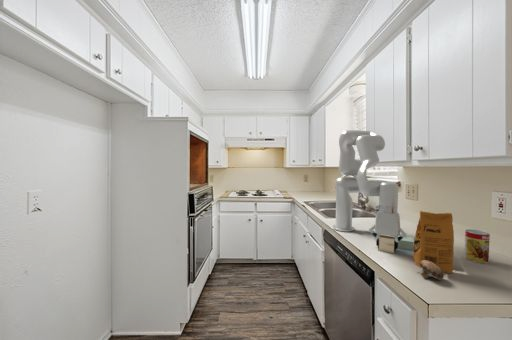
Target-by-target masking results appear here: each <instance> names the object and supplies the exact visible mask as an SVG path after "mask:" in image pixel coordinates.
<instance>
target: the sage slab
mask: <svg viewBox="0 0 512 340" xmlns="http://www.w3.org/2000/svg"><path fill="white" fill-rule="evenodd" d="M399 236H400V235H399ZM399 236H398V237H399ZM414 240H415V237H413V236H412V237H411V236H406V237H404V238H403V239H401V240H400V241H399V242H398V248H399V249H405V250H411V251H413V247H414Z"/></svg>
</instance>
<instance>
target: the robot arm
mask: <svg viewBox="0 0 512 340" xmlns="http://www.w3.org/2000/svg"><path fill="white" fill-rule="evenodd" d="M338 138H339V139H338V145H339V161H338V172H339V173H340V175H344V176H342V177H341V176H340V177H338V178H336V179H335V181H334V188H335V224H333V225H332V229H333V230H335V231H338V232H354V231H355V227H354V226H353V205H354V203H353V198H352V196H351V194H359V193H361V194H362V195H363V196H364V197H378V200H379V201H378V205H375V210H376V209H378V210H379V211H377V214H376V215H375V221H374V222H375V224H373V226H371V227H370V228H369V229H368V231H369V233H370V234H371V235H372V236H373V237H374V238H375V241H376V242H375V243H376V244H375V245H376V246H377V249H378V248H379V237H380V235H381V234H382V235H389V236H394V239H395V241H394V251H396V249H398V242H399V241H400V240H401V239H403V238H404V237H408V235H407V233H406V231H404V229H402V227H401V218H400V213H399V212H398V205H399V185H398V183H396V182H390V181H386V180H369V179H368V176H367V172H368V171H367V170H369V169H370V168H373V167H375V166H377V165H378V164H379V162H380V158H379V154H378V152H381V151H383V150H384V149H385V147H386V142H385V138H384V137H383V136H382V135H381V134H378V133H375V132H373V131H370V130H354V129H350V130H343V132H341V133H340V135H339V137H338ZM354 146H355V147H356V148H357V153H358V156H359V159H356V150H355V148H354ZM398 236H399V237H398Z"/></svg>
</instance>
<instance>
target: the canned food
mask: <svg viewBox="0 0 512 340" xmlns="http://www.w3.org/2000/svg"><path fill="white" fill-rule="evenodd" d="M490 235H491V233H490V232H488V231H484V230H479V229H465V233H464V236H465V237H464V259H465V260H468V261H470V262H474V263H479V264H488V263H489V261H490V257H489V255H490V238H491V237H490Z"/></svg>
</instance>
